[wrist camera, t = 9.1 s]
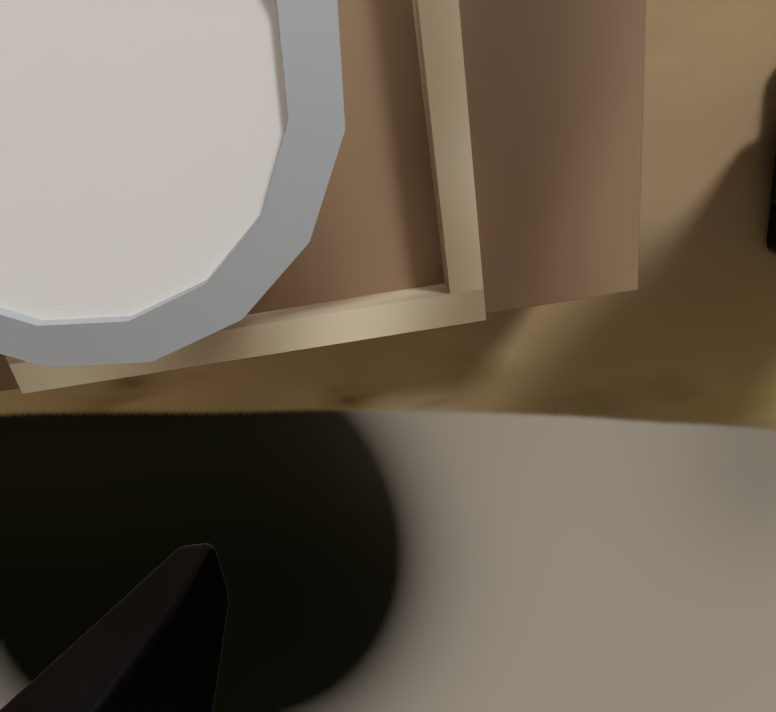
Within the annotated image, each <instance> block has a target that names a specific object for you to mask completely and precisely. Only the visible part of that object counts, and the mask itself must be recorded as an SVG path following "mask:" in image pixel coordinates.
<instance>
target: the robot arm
mask: <svg viewBox="0 0 776 712" xmlns="http://www.w3.org/2000/svg"><path fill="white" fill-rule="evenodd" d="M771 200H772V201H771V209H770V217H769V226H768V234H767V248H768V249H769V251H771V252H772V253H774V254H776V157H775V165H774V174H773V182H772V191H771ZM227 610H228V592H227V586H226V583H225V580H224V576H223V573H222V570H221V567H220V563H219V560H218V556H217V553H216V550H215V549H214V547H213V546H212V545H210V544H197V545H188V546H183V547H180V548H179V549H178V550H176V551H175V552H174V553H173V554H172V555H170V556H169V557H168V558H167V559H166V560H165V561H164V562H163V563H162V564H161V565H160V566H158V567H157V568H156V569H155V570H154V571H153V572H152V573H151V574H150V575H148V576H147V577H146V578H145V579H144V580H143V581H142V582H141V583H140V584H139V585H137V586H136V587H135V588H134V589H133V590H132V591H131V592H130V593H129V594H128V595H126V596H125V597H124V598H123V599H122V600H121V601H120V602H119V603H118V604H117V605H115V606H114V607H113V608H112V609H111V610H110V611H109V612H108V613H107V614H106V615H104V616H103V617H102V618H101V619H100V620H99V621H98V622H97V623H96V624H95V625H93V626H92V627H91V628H90V629H89V630H88V631H87V632H86V633H85V634H84V635H82V636H81V637H80V638H79V639H78V640H77V641H76V642H75V643H74V644H72V645H71V646H70V647H69V648H68V649H67V650H66V651H65V652H64V653H63V654H61V655H60V656H59V657H58V658H57V659H56V660H55V661H54V662H53V663H52V664H50V665H49V666H48V667H47V668H46V669H45V670H44V671H43V672H42V673H41V674H40V675H38V676H37V677H36V678H35V679H34V680H33V681H32V682H31V683H30V684H28V685H27V686H26V687H25V688H24V689H23V690H22V691H21V692H20V693H19V694H17V695H16V696H15V697H14V698H13V699H12V700H11V701H10V702H9V703H8V704H7V705H5V706H4V707H3V708H2V709H1V710H0V712H212V711H213V705H214V698H215V691H216V684H217V678H218V671H219V664H220V657H221V650H222V643H223V637H224V630H225V623H226V617H227Z"/></svg>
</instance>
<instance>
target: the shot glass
mask: <svg viewBox="0 0 776 712" xmlns="http://www.w3.org/2000/svg"><path fill="white" fill-rule="evenodd" d="M344 132H345V116H344V100H343V83H342V67H341V50H340V34H339V18H338V1H337V0H0V354H3V355H7V356H10V357H13V358H17V359H20V360H24V361H27V362H31V363H34V364H38V365H41V366H45V367H61V366H81V365H100V364H120V363H140V362H153V361H155V360H157V359H159V358H161V357H163V356H165V355H168V354H170V353H172V352H174V351H176V350H178V349H180V348H183V347H185V346H187V345H189V344H191V343H193V342H195V341H198V340H200V339H202V338H204V337H206V336H208V335H211V334H213V333H215V332H217V331H219V330H221V329H223V328H226V327H228V326H230V325H232V324H234V323H236V322H238V321H241V320H242V319H243V318H244V317H245V316H246V315H247V313H248V312H249V311H250V310H251V309H252V308H253V307H254V305H255V304H256V303H257V302H258V301H259V300H260V298H261V297H262V296H263V295H264V294H265V293H266V292H267V290H268V289H269V288H270V287H271V286H272V285H273V284H274V282H275V281H276V280H277V279H278V278H279V277H280V275H281V274H282V273H283V272H284V271H285V270H286V269H287V267H288V266H289V265H290V264H291V263H292V262H293V261H294V259H295V258H296V257H297V256H298V255H299V254H300V252H301V251H302V250H303V249H304V248H305V247H306V246H307V244H308V243H309V242H310V239H311V236H312V233H313V230H314V227H315V224H316V220H317V217H318V214H319V211H320V208H321V205H322V202H323V198H324V195H325V192H326V189H327V186H328V183H329V179H330V176H331V173H332V170H333V167H334V164H335V161H336V157H337V154H338V151H339V148H340V145H341V142H342V139H343V135H344Z"/></svg>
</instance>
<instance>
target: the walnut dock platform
mask: <svg viewBox="0 0 776 712" xmlns="http://www.w3.org/2000/svg"><path fill="white" fill-rule="evenodd" d="M337 1H338V18H339V34H340V50H341V67H342V83H343V100H344V116H345V132H344V135H343V139H342V142H341V145H340V148H339V151H338V154H337V157H336V161H335V164H334V167H333V170H332V173H331V176H330V179H329V183H328V186H327V189H326V192H325V195H324V198H323V202H322V205H321V208H320V211H319V214H318V217H317V220H316V224H315V227H314V230H313V233H312V236H311V239H310V242H309V243H308V244H307V246H306V247H305V248H304V249H303V250H302V251H301V252H300V254H299V255H298V256H297V257H296V258H295V259H294V261H293V262H292V263H291V264H290V265H289V266H288V267H287V269H286V270H285V271H284V272H283V273H282V274H281V275H280V277H279V278H278V279H277V280H276V281H275V282H274V284H273V285H272V286H271V287H270V288H269V289H268V290H267V292H266V293H265V294H264V295H263V296H262V297H261V298H260V300H259V301H258V302H257V303H256V304H255V305H254V307H253V308H252V309H251V310H250V311H249V312H248V313H247V315H246V316H245V317H244V318H243V319H242V320H241V321H238V322H236V323H234V324H232V325H230V326H228V327H226V328H223V329H221V330H219V331H217V332H215V333H213V334H211V335H208V336H206V337H204V338H202V339H200V340H198V341H195V342H193V343H191V344H189V345H187V346H185V347H183V348H180V349H178V350H176V351H174V352H172V353H170V354H168V355H165V356H163V357H161V358H159V359H157V360H155V361H153V362H140V363H120V364H100V365H81V366H61V367H45V366H41V365H38V364H34V363H31V362H27V361H24V360H20V359H17V358H13V357H10V356H7V355H3V354H0V391H4V390H10V389H16V388H20V390H21V392H22V394H25V393H31V392H37V391H44V390H50V389H56V388H62V387H69V386H75V385H81V384H88V383H94V382H100V381H106V380H113V379H119V378H125V377H132V376H138V375H144V374H151V373H157V372H163V371H169V370H176V369H182V368H188V367H195V366H201V365H207V364H213V363H220V362H226V361H232V360H239V359H245V358H251V357H258V356H264V355H270V354H276V353H283V352H289V351H295V350H302V349H308V348H314V347H320V346H327V345H333V344H339V343H346V342H352V341H358V340H365V339H371V338H377V337H383V336H390V335H396V334H402V333H409V332H415V331H421V330H427V329H434V328H440V327H446V326H453V325H459V324H465V323H472V322H478V321H484V320H486V314H488V313H494V312H500V311H507V310H513V309H519V308H526V307H532V306H538V305H544V304H551V303H557V302H563V301H570V300H576V299H582V298H588V297H595V296H601V295H607V294H614V293H620V292H626V291H632V290H638V267H639V231H640V195H641V159H642V123H643V88H644V52H645V16H646V0H337Z"/></svg>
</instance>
